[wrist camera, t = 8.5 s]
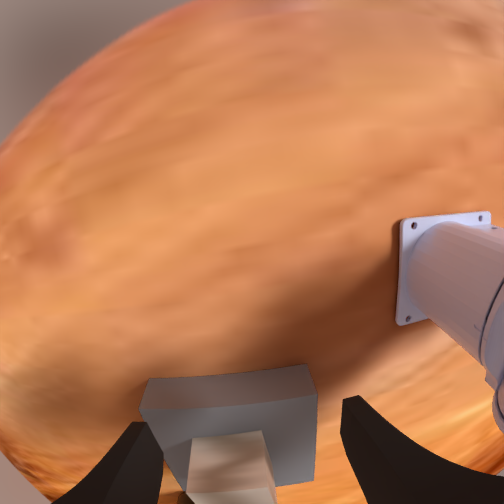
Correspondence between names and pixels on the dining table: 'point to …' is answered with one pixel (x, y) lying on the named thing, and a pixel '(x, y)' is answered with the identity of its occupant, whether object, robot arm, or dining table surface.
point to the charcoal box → (237, 416)
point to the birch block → (231, 470)
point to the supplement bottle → (184, 499)
